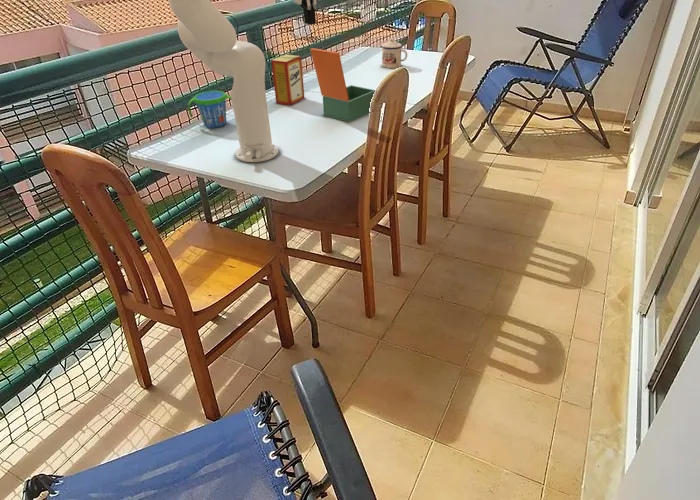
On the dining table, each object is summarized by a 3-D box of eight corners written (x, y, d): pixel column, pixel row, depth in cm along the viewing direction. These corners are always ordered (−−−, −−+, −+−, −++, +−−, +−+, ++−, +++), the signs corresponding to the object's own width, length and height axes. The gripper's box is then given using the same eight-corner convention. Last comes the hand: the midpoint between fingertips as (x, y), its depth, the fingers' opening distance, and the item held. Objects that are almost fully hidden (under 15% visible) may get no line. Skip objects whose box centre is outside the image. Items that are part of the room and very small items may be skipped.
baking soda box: (290, 105, 184) (285, 60, 175) (276, 103, 187) (271, 59, 178) (304, 98, 191) (300, 54, 182) (290, 96, 194) (286, 53, 185)
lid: (311, 47, 158) (310, 49, 158) (339, 52, 152) (337, 53, 152) (323, 94, 170) (321, 95, 170) (349, 100, 164) (347, 101, 163)
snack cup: (189, 131, 165) (182, 101, 159) (195, 120, 174) (189, 91, 168) (236, 128, 166) (231, 98, 160) (239, 118, 174) (235, 89, 169)
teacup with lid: (378, 67, 225) (378, 40, 218) (385, 62, 231) (386, 36, 225) (403, 69, 220) (404, 41, 214) (410, 64, 227) (411, 37, 220)
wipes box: (351, 103, 184) (351, 85, 180) (376, 109, 177) (376, 90, 174) (323, 115, 174) (322, 96, 170) (349, 121, 168) (348, 102, 164)
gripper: (295, -46, 130) (301, 29, 140) (332, -50, 139) (336, 20, 149) (275, -46, 134) (283, 27, 144) (313, -51, 143) (317, 18, 153)
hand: (310, 23), depth 147 cm, fingers closed
